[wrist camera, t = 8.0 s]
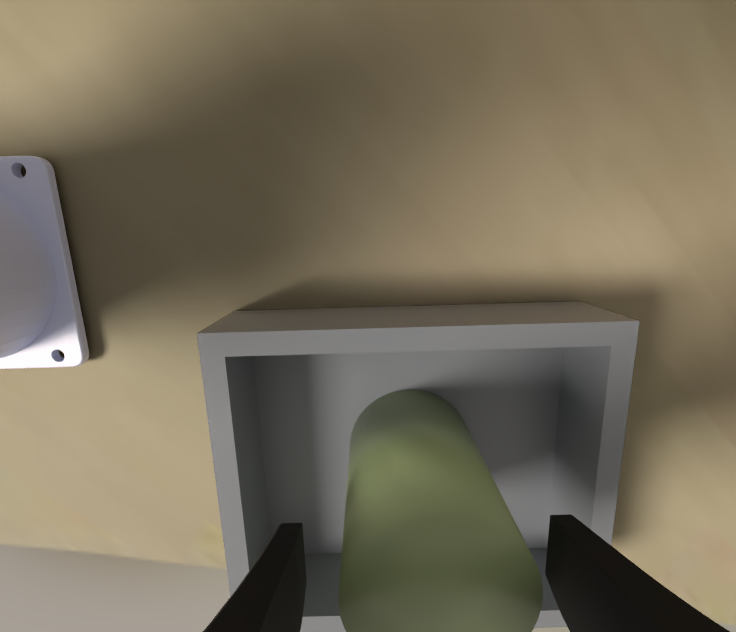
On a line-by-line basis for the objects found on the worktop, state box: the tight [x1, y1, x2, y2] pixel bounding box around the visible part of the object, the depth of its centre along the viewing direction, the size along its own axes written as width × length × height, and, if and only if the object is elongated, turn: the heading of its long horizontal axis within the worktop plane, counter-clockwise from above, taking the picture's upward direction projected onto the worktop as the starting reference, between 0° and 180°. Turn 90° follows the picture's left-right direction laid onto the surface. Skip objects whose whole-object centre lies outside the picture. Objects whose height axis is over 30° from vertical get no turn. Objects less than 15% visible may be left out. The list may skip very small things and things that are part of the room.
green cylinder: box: [339, 390, 543, 632], centre depth 13 cm, size 5×5×7 cm
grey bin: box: [197, 301, 640, 632], centre depth 15 cm, size 14×12×4 cm
